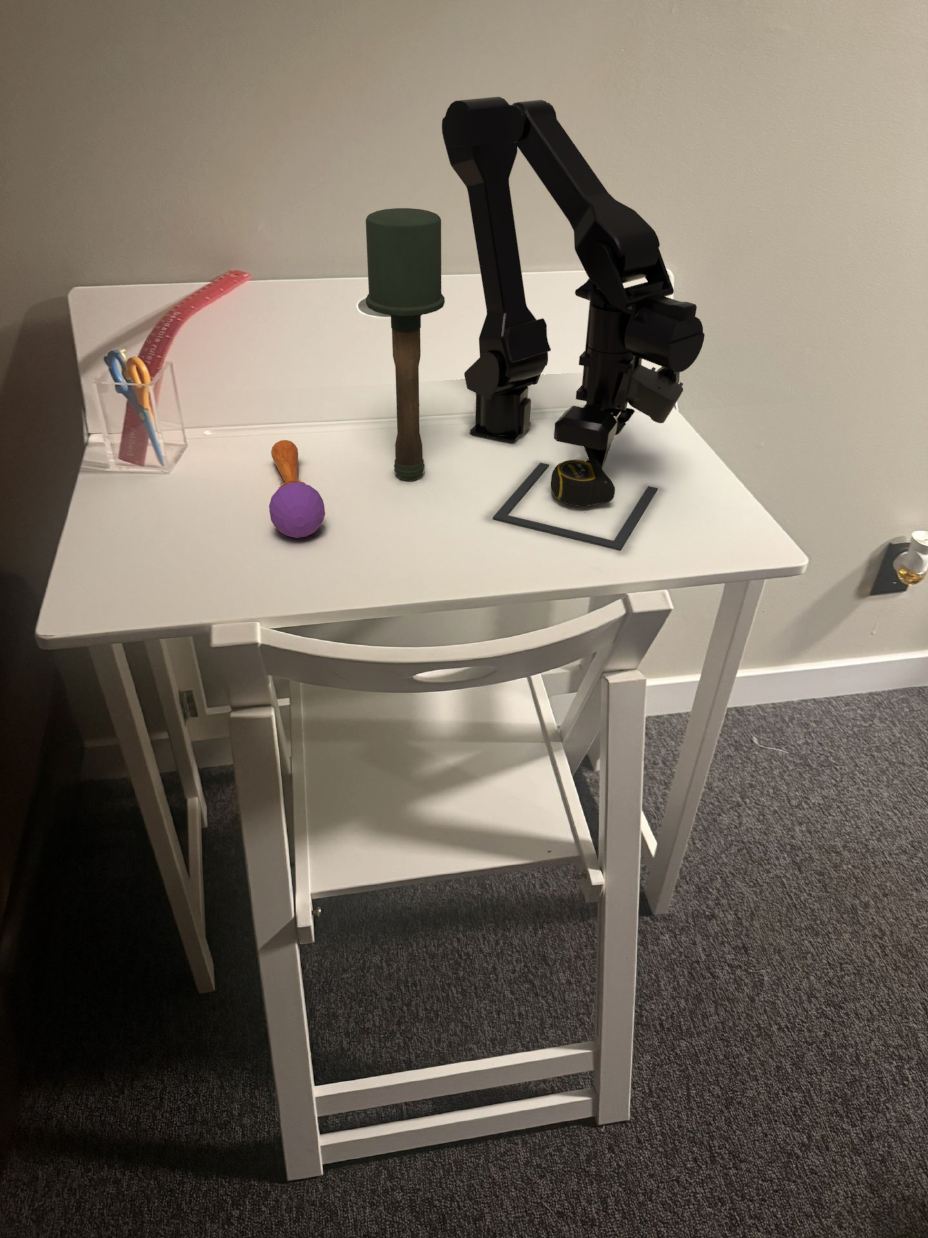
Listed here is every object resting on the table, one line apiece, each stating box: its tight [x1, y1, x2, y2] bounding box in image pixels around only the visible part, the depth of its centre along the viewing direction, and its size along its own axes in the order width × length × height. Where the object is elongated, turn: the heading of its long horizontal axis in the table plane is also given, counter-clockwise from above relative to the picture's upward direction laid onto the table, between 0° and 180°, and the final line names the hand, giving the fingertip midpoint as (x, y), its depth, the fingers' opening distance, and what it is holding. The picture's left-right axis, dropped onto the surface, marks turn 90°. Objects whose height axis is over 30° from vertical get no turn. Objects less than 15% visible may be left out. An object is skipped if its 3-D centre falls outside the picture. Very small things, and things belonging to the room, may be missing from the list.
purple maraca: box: [268, 439, 326, 539], centre depth 104 cm, size 6×6×20 cm
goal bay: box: [492, 462, 658, 551], centre depth 106 cm, size 15×15×1 cm
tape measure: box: [550, 459, 616, 508], centre depth 106 cm, size 7×7×4 cm
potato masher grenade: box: [365, 207, 446, 482], centre depth 102 cm, size 8×9×30 cm
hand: (597, 469), depth 111 cm, fingers closed
